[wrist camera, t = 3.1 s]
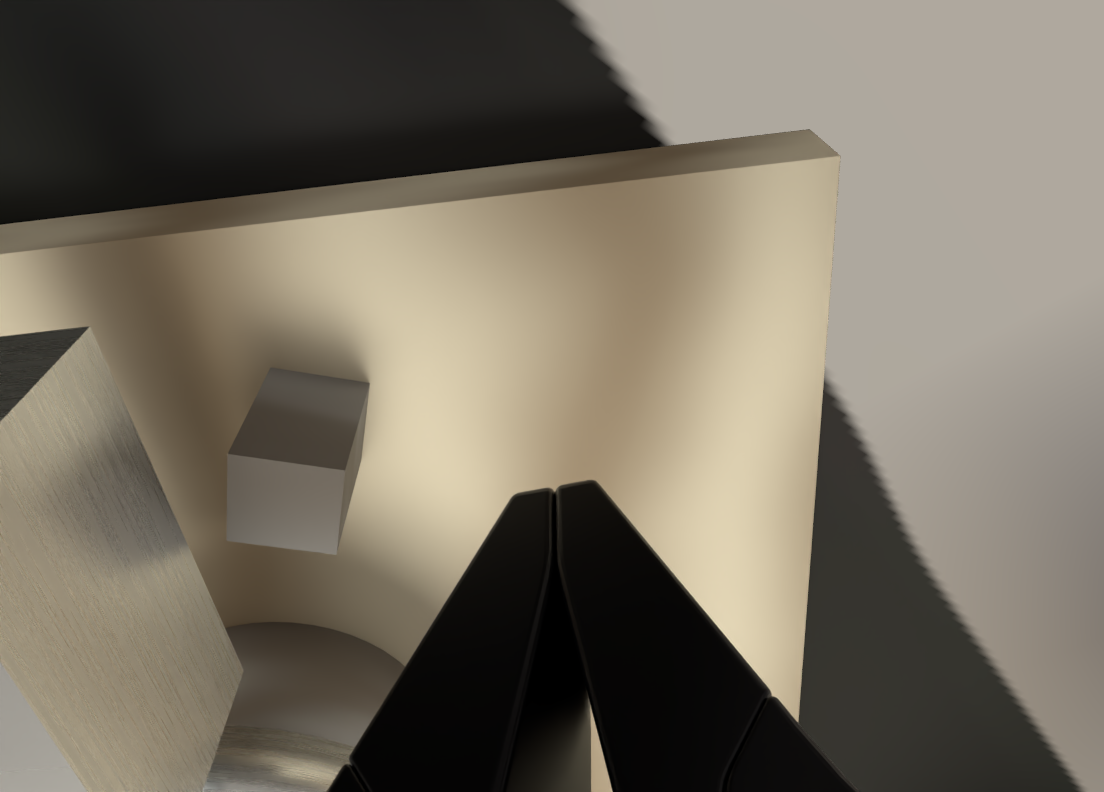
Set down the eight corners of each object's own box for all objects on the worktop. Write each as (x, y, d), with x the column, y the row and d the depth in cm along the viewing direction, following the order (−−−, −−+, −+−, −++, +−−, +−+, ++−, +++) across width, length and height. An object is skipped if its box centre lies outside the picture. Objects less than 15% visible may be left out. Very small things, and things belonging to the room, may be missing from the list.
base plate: (810, 129, 13) (938, 239, 9) (769, 876, 25) (818, 1071, 21) (-518, 285, 14) (-944, 454, 10) (44, 946, 26) (-45, 1149, 21)
